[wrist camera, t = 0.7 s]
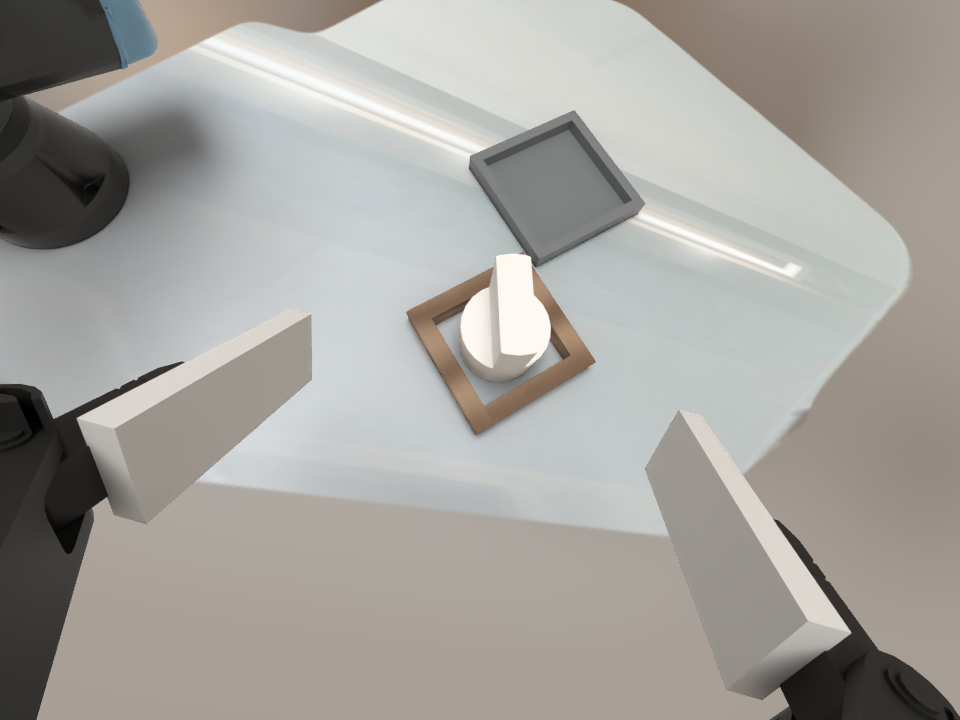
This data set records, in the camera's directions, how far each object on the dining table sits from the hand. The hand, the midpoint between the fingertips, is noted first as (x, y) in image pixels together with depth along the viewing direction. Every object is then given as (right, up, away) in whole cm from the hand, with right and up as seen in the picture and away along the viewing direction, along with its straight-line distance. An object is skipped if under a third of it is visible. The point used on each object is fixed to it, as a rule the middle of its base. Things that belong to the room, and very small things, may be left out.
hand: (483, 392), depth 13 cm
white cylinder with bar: (+2, +3, +29) cm, 29 cm away
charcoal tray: (+9, +23, +34) cm, 42 cm away
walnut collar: (+2, +3, +28) cm, 29 cm away
